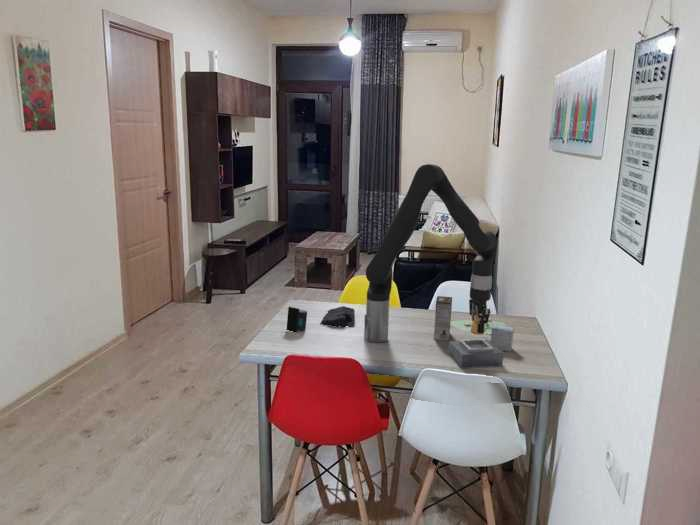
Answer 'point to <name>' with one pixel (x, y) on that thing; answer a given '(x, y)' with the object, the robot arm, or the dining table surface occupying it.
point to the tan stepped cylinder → (475, 326)
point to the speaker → (296, 319)
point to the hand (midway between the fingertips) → (477, 330)
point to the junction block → (475, 353)
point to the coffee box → (442, 318)
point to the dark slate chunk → (340, 317)
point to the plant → (467, 323)
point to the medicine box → (502, 337)
